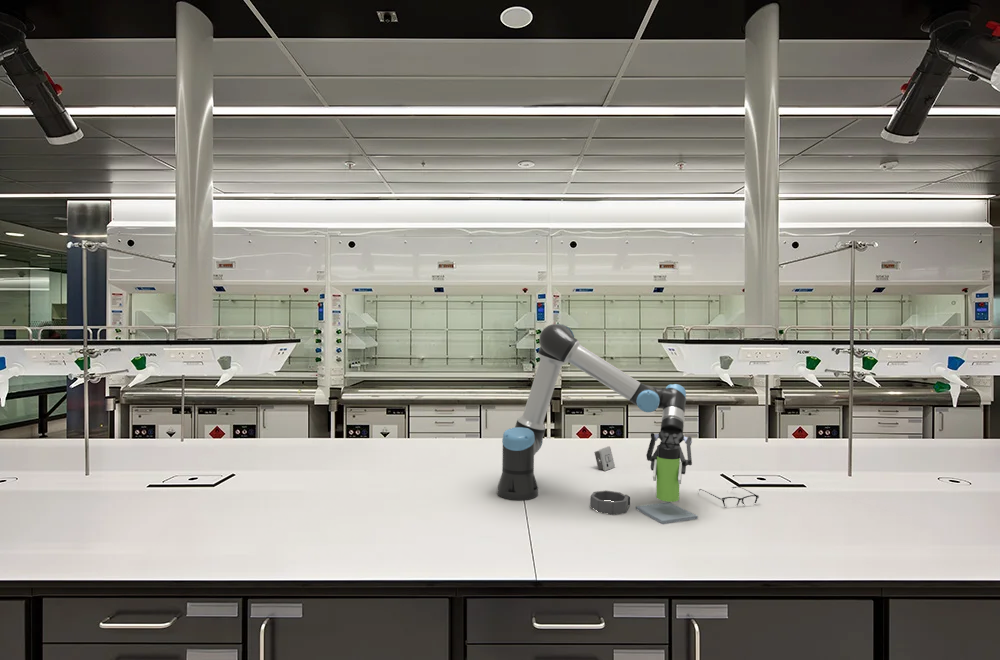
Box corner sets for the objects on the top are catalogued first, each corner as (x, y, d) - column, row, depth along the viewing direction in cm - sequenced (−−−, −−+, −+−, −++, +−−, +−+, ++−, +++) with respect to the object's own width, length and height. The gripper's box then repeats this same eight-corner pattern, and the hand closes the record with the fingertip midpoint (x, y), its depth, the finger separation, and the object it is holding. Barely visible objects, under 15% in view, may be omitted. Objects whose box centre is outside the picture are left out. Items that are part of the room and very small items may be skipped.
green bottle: (661, 493, 179) (662, 443, 179) (682, 498, 174) (683, 446, 174) (652, 498, 173) (653, 446, 173) (674, 503, 169) (674, 450, 169)
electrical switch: (605, 471, 224) (603, 450, 225) (594, 470, 227) (593, 449, 228) (615, 467, 231) (613, 446, 232) (604, 466, 235) (603, 445, 235)
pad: (662, 524, 165) (662, 520, 165) (635, 509, 178) (635, 506, 178) (697, 518, 170) (697, 515, 170) (669, 504, 183) (669, 502, 183)
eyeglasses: (721, 509, 180) (721, 498, 180) (693, 495, 195) (693, 484, 195) (761, 506, 184) (761, 495, 184) (731, 492, 200) (731, 482, 200)
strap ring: (603, 516, 171) (603, 503, 171) (585, 504, 182) (585, 492, 182) (638, 511, 176) (638, 499, 176) (618, 500, 187) (618, 489, 187)
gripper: (703, 431, 184) (699, 490, 169) (644, 426, 192) (636, 482, 177) (702, 418, 179) (699, 478, 164) (642, 414, 187) (634, 470, 172)
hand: (666, 480), depth 171 cm, fingers closed on green bottle, 7 cm apart
